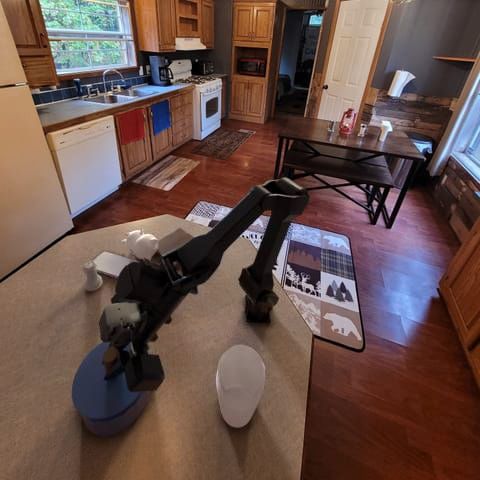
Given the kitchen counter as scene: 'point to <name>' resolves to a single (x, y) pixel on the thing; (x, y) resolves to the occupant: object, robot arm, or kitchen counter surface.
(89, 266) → the rook chess piece
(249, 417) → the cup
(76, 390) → the lid
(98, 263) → the smartphone
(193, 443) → the kitchen counter surface
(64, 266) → the kitchen counter surface
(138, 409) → the tin
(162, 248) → the trivet
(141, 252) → the white rounded figure
